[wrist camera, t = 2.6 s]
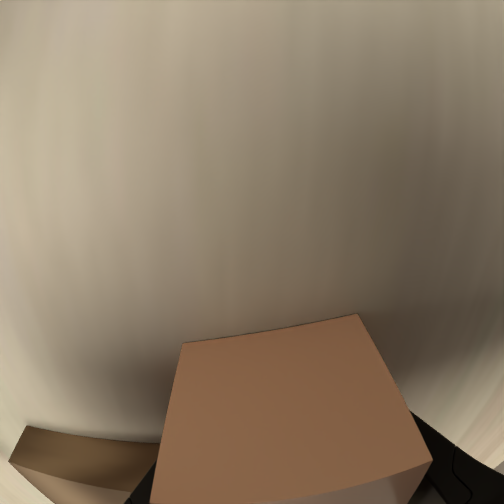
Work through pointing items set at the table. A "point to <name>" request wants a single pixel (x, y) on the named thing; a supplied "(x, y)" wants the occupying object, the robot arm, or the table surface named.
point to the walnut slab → (81, 466)
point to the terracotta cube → (288, 422)
